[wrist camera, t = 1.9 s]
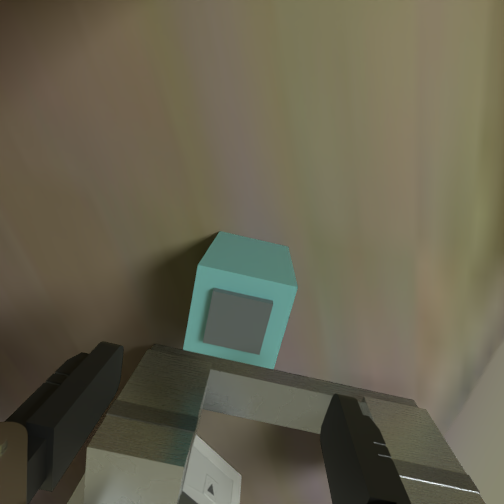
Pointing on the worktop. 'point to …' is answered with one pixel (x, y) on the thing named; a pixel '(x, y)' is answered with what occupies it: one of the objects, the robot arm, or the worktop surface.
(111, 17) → the worktop surface
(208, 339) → the block
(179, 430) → the rail
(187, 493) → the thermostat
